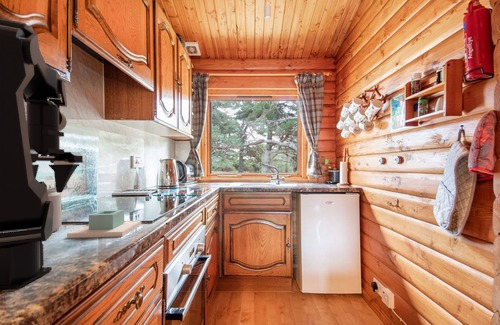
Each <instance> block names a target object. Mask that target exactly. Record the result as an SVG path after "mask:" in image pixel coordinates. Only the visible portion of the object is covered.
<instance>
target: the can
mask: <svg viewBox="0 0 500 325" xmlns="http://www.w3.org/2000/svg"><path fill="white" fill-rule="evenodd" d="M47 191H48V197H49V201H52V202H53V210H54V211H53V227H52V233H54V232H57V231H58V230H59V229H60V228H62V194H61V193H57V191H56V188H47ZM36 229H40V228H36ZM28 230H31V229H28Z"/></svg>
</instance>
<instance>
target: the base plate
mask: <svg viewBox="0 0 500 325" xmlns="http://www.w3.org/2000/svg"><path fill="white" fill-rule="evenodd" d="M96 212H97V211H94V212H93V213H96ZM140 226H142V220H130V221H129V220H126V221H125V220H124V224H122V225H120V226H118V227H117V228H115V229H106V230H89V224H87V225H85V226H82V227H79V228H77V229H75V230H73V231H70V232H67V233H66V238H67V239H77V238H78V239H79V238H111V237H125V235H127V234H129V233H130V232H132V231H134V230H135V229H137V228H139V227H140Z"/></svg>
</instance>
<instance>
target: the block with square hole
mask: <svg viewBox="0 0 500 325" xmlns="http://www.w3.org/2000/svg"><path fill="white" fill-rule="evenodd" d="M95 212H96V213H94V212H93V213H91V214H88V225H89V230H106V229H115V228H117V227H118V226H120V225H122V224H124V221H125V210H124V209H114V210H113V209H112V210H111V209H107V210H106V209H105V210H103V209H102V210H99V211H95Z"/></svg>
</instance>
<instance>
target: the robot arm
mask: <svg viewBox="0 0 500 325" xmlns="http://www.w3.org/2000/svg"><path fill="white" fill-rule="evenodd" d="M25 107H26V108H25ZM60 107H64V108H67V107H68V103H67V94H66V86H65V81H64V79H63V78H61V76H60V74H59V73H58V71H57V70H56V69H54V68H51V67H50V66H48V64H47V63H46V61H45V59H44V57H43V55H42V53H41V51H40V43H39V38H38V33H36V32H35V31H34V28H33V26H32V25H28V24H27V23H25V22H21V21H16V20H11V19H5V18H1V17H0V289H20V288H23V287H24V286H26V285H28V284H30V283H31V282H33V281H34V280H36V279H38V278H40V277H42V276H43V275H46V274H47V273H49V272H51V271H52V267H51V266H44V263H45V262H44V243H43V242H47V241H48V239H49V238H50V237H51V236H52V235H53V232H52V227H53V211H54V210H53V202H52V201H49V197H48V191H47V189H48V185H47V184H46V182H45V181H39V180H38V179H37V178H36V177H37V175H38V170H39V167H40V166H39V164H34V163H36V162H49V163H51V164H48V166H49V168H50V169H51V170H52V171H53V174H54V183H55V189H56V191H57V193H60V194H61V193H63V191H65V188H66V186H67V185H68V182H69V181H70V179H71V177H72V176H73V174H74V172H75V171H76V169H77V167H80V163H81V164H82V163H84V161H83V159H84V158H83V156H84V155H83V154H81V152H78V151H65V149H63V148H62V149H60V148H61V147H60V146H61V145H60V144H61V143H60V139H61V137H65V132H62V130H64V129H65V127H66V126H67V118H66V116H65V115H64V114H63V113H62V112H61V109H60ZM36 228H40V229H36ZM28 229H31V230H28Z"/></svg>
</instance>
